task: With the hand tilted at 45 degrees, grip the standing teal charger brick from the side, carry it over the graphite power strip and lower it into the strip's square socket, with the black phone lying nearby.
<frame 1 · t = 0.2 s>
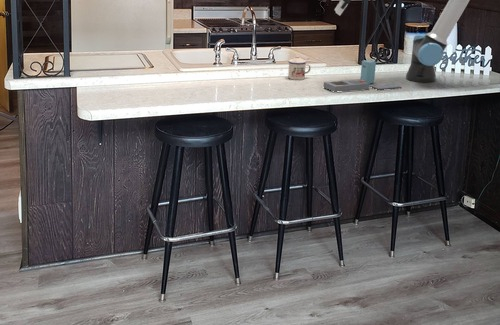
hand: (336, 12, 320), 34 cm above the countertop, tool tilted 30°, fingers open, 13 cm apart
charger brick: (367, 82, 331), on the countertop
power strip: (346, 88, 317), on the countertop
phone: (385, 89, 321), on the countertop
teacup with lid: (299, 78, 337), on the countertop
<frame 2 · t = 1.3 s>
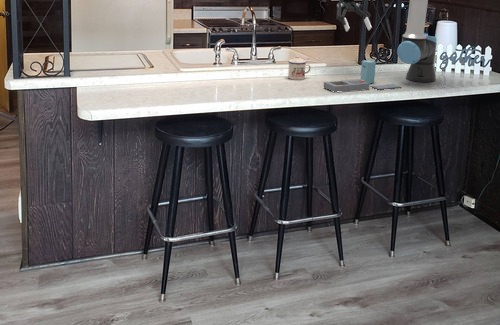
hand: (359, 29, 331), 26 cm above the countertop, tool tilted 45°, fingers open, 13 cm apart
nothing on the countertop moved.
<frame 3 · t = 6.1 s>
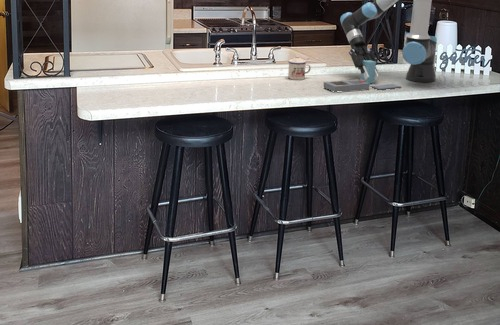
hand: (371, 77, 327), 3 cm above the countertop, tool tilted 45°, fingers closed on charger brick, 5 cm apart
charger brick: (367, 82, 331), on the countertop, touching gripper
everything else where it was.
when the fingers open (6 cm above the countertop, at t = 11.3 s): charger brick drops 2 cm, resting on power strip.
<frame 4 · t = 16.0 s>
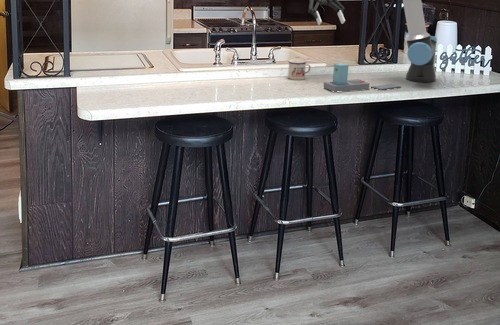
hand: (331, 22, 321), 30 cm above the countertop, tool tilted 45°, fingers open, 13 cm apart
charger brick: (339, 86, 315), point 1 cm above the countertop, touching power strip
everything else where it was.
at the end: charger brick 0.1 cm from the target spot on the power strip, point 1.3 cm above the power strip's base; charger brick tilted 0°; the gripper is holding nothing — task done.
